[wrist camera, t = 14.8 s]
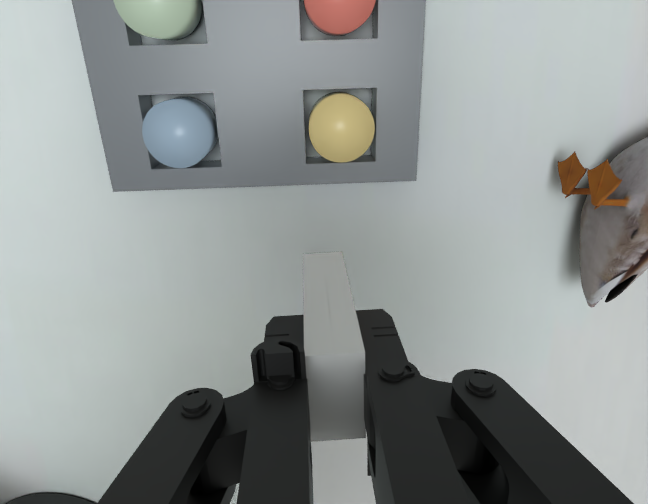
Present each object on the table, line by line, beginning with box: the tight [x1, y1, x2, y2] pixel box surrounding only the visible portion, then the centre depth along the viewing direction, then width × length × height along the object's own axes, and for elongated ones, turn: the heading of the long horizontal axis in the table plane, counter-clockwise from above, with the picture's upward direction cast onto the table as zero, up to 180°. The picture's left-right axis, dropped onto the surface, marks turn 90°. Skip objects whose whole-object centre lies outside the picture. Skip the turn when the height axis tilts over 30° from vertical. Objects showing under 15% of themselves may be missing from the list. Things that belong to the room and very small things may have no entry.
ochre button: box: [309, 92, 375, 163], centre depth 32 cm, size 4×4×3 cm
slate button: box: [142, 97, 218, 168], centre depth 31 cm, size 4×4×3 cm
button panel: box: [72, 0, 426, 192], centre depth 31 cm, size 22×16×2 cm
